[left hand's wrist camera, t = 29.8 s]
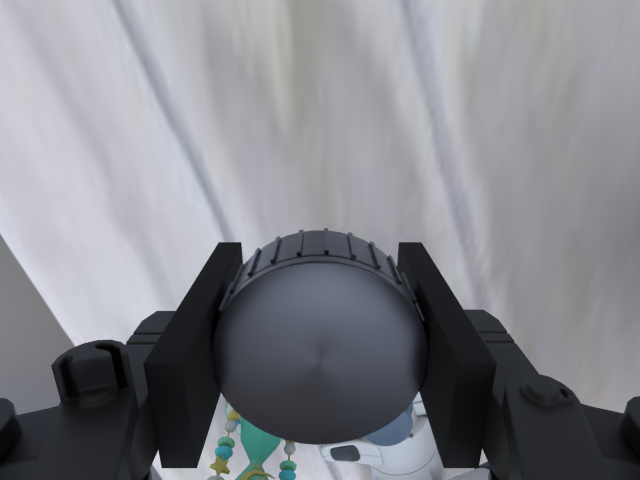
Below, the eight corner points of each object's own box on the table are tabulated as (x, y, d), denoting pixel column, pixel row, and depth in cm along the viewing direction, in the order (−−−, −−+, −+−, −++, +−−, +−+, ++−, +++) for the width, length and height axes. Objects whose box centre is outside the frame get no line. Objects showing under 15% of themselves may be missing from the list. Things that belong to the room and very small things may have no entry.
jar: (381, 317, 51) (416, 451, 33) (342, 317, 51) (354, 451, 33) (383, 282, 49) (421, 401, 31) (342, 282, 49) (355, 402, 31)
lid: (426, 232, 11) (449, 264, 9) (401, 395, 13) (415, 451, 11) (224, 220, 11) (202, 251, 9) (227, 387, 13) (211, 442, 11)
